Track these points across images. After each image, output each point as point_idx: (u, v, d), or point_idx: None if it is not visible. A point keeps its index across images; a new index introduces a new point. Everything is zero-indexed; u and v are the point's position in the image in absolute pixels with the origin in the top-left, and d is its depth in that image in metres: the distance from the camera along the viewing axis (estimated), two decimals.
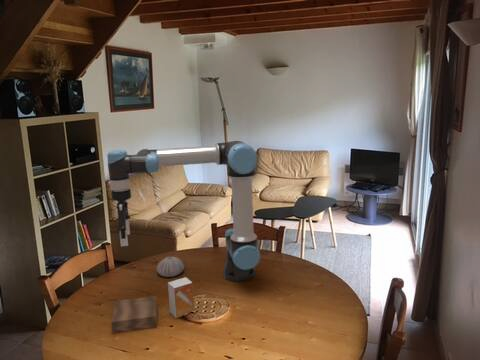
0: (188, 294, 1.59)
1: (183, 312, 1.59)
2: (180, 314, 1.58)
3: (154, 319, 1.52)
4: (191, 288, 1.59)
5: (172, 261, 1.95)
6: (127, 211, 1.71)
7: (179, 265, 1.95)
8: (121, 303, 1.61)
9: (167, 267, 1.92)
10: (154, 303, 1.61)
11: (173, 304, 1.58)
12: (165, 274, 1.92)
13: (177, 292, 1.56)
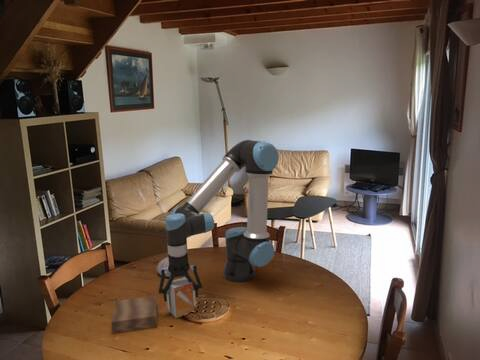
0: (188, 294, 1.59)
1: (183, 312, 1.59)
2: (180, 314, 1.58)
3: (154, 319, 1.52)
4: (191, 288, 1.59)
5: None
6: (197, 282, 1.60)
7: None
8: (121, 303, 1.61)
9: (167, 267, 1.92)
10: (154, 303, 1.61)
11: (173, 304, 1.58)
12: (165, 274, 1.92)
13: (177, 292, 1.56)
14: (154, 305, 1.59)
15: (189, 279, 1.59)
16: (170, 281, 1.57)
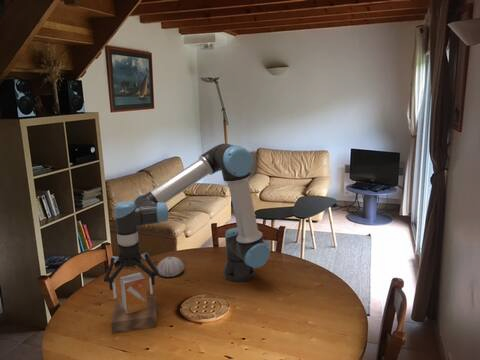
0: (140, 290, 1.54)
1: (135, 308, 1.54)
2: (132, 310, 1.54)
3: (154, 319, 1.52)
4: (143, 284, 1.54)
5: (172, 261, 1.95)
6: None
7: (179, 265, 1.95)
8: (121, 304, 1.61)
9: (167, 267, 1.92)
10: (154, 303, 1.61)
11: (124, 300, 1.53)
12: (165, 274, 1.92)
13: (128, 287, 1.51)
14: (154, 305, 1.59)
15: (143, 268, 1.54)
16: (118, 270, 1.52)
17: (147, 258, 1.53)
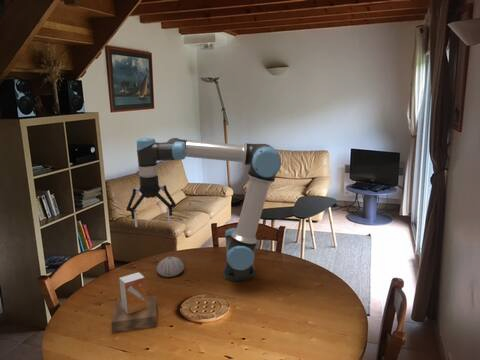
0: (140, 289, 1.54)
1: (136, 308, 1.54)
2: (132, 310, 1.54)
3: (154, 319, 1.52)
4: (143, 283, 1.55)
5: (171, 261, 1.95)
6: (170, 201, 1.70)
7: (179, 265, 1.95)
8: (121, 304, 1.61)
9: (167, 267, 1.92)
10: (154, 303, 1.61)
11: (124, 300, 1.53)
12: (165, 274, 1.92)
13: (128, 287, 1.51)
14: (154, 305, 1.59)
15: (161, 199, 1.69)
16: (139, 200, 1.68)
17: (165, 190, 1.69)
